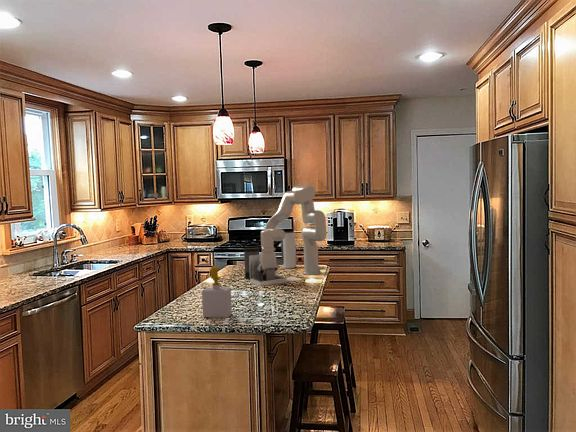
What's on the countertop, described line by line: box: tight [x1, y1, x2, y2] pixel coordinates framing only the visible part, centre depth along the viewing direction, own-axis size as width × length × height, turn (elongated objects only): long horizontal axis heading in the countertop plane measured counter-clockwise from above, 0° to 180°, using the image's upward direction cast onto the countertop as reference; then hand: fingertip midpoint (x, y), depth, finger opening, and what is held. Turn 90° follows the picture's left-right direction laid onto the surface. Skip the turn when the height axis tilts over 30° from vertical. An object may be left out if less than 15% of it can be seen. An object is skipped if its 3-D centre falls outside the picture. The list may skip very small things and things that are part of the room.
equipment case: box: [249, 252, 288, 287], centre depth 301 cm, size 18×14×17 cm
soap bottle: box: [201, 265, 233, 319], centre depth 227 cm, size 12×7×23 cm, turn 80°
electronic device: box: [243, 247, 260, 280], centre depth 316 cm, size 9×6×20 cm, turn 84°
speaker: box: [280, 231, 297, 269], centre depth 356 cm, size 11×10×26 cm
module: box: [263, 269, 275, 281], centre depth 301 cm, size 5×7×8 cm
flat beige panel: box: [286, 276, 304, 283], centre depth 309 cm, size 10×12×1 cm
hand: (268, 279), depth 301 cm, fingers closed on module, 5 cm apart
